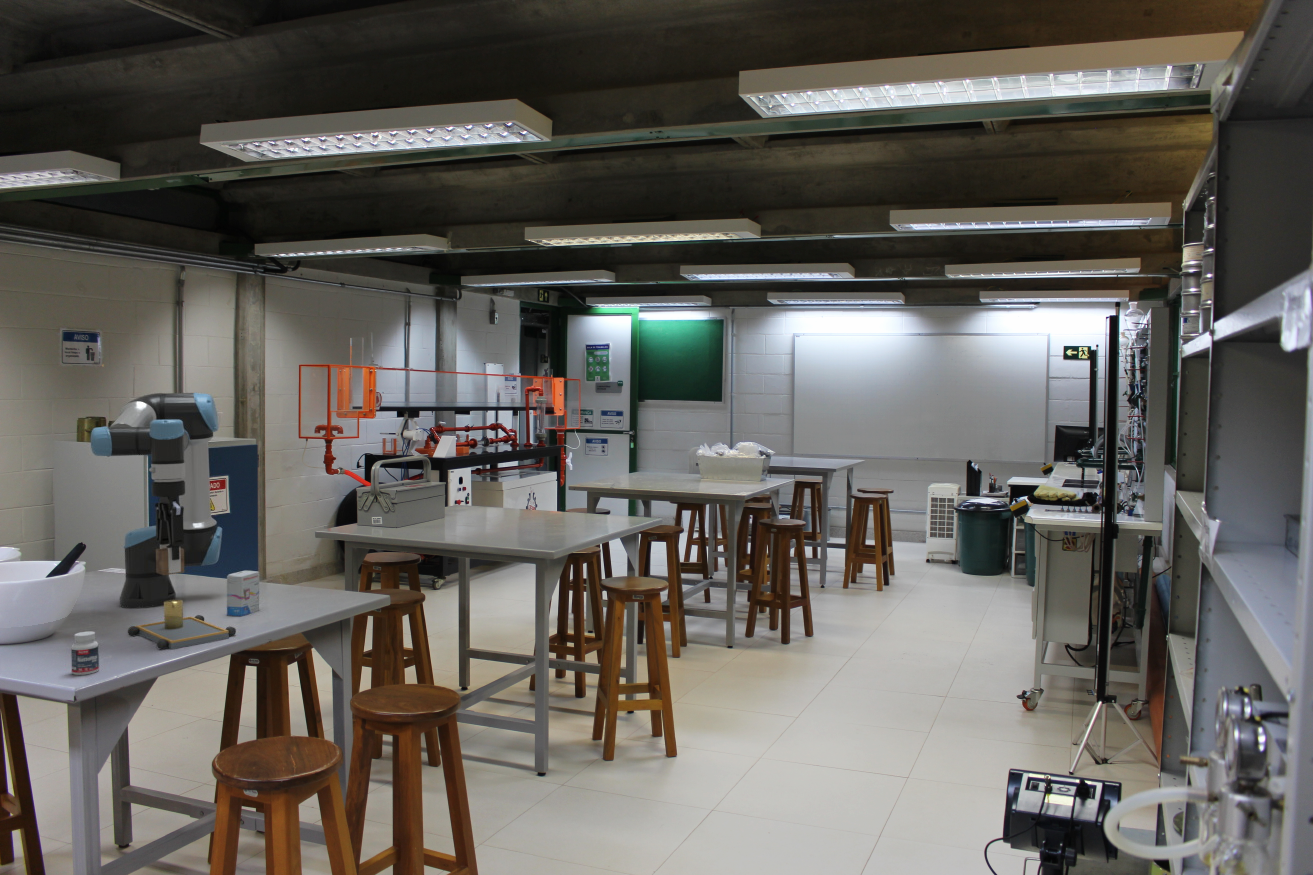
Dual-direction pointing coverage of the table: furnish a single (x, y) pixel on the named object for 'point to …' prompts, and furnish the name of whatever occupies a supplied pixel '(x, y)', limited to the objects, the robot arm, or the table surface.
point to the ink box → (242, 593)
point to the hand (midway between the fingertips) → (170, 570)
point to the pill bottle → (85, 654)
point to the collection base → (182, 633)
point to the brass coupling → (173, 614)
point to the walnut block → (166, 561)
